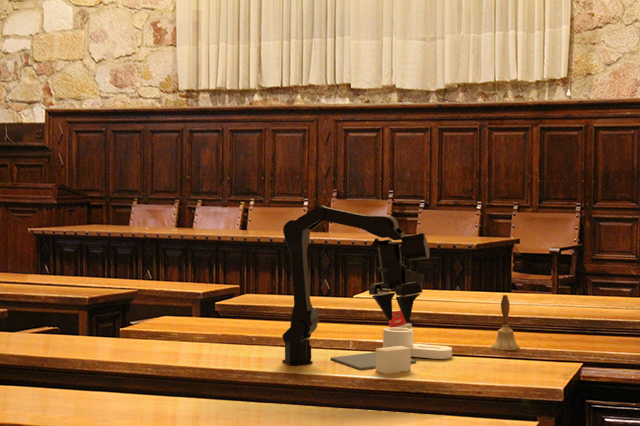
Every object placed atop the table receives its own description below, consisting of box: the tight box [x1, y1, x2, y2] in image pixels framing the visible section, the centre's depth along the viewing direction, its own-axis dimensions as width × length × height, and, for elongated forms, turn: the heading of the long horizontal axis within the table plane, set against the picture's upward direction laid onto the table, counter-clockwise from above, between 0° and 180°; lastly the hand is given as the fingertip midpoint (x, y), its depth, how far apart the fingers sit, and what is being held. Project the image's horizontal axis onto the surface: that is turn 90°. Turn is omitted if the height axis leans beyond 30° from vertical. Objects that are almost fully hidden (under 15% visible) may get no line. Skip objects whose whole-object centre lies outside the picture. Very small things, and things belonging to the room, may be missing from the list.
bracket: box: [382, 327, 453, 360], centre depth 234 cm, size 20×9×7 cm, turn 71°
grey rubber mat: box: [330, 351, 417, 371], centre depth 226 cm, size 18×16×1 cm
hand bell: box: [491, 294, 521, 351], centre depth 245 cm, size 8×8×16 cm
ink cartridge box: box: [388, 309, 413, 330], centre depth 256 cm, size 2×11×10 cm, turn 146°
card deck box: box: [375, 346, 412, 375], centre depth 214 cm, size 8×4×6 cm, turn 119°
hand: (398, 320), depth 216 cm, fingers open, 9 cm apart
